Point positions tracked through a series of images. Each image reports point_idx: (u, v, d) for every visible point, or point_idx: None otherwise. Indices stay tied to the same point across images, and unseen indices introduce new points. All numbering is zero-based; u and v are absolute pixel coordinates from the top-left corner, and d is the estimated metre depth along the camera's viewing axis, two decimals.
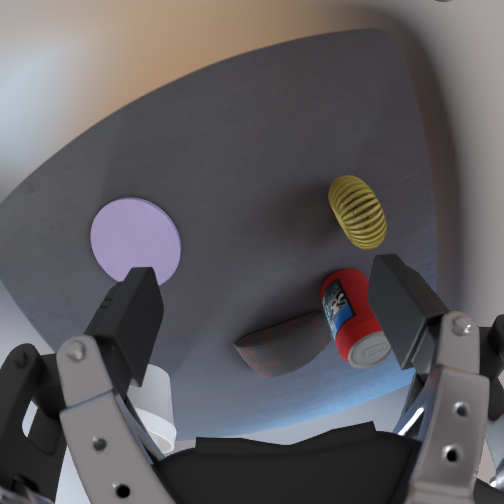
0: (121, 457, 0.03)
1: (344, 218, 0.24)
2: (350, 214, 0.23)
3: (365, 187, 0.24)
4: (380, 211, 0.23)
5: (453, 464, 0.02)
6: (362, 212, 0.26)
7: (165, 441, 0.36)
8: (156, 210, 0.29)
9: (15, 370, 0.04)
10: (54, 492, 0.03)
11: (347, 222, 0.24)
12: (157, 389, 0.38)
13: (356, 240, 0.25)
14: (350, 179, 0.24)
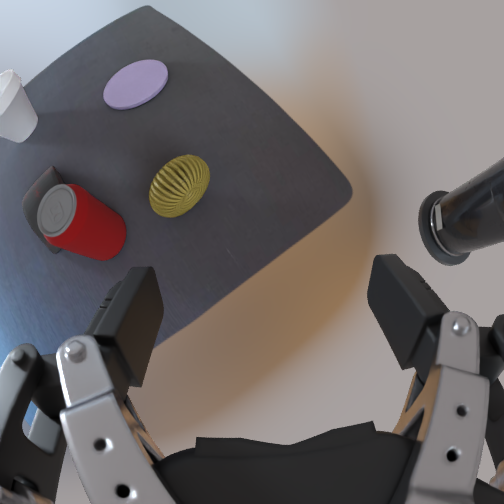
0: (121, 457, 0.03)
1: None
2: (177, 157, 0.28)
3: (202, 170, 0.29)
4: (186, 178, 0.27)
5: (453, 464, 0.02)
6: None
7: None
8: (160, 86, 0.37)
9: (15, 370, 0.04)
10: (54, 492, 0.03)
11: (170, 161, 0.28)
12: (21, 119, 0.32)
13: (156, 174, 0.28)
14: (205, 164, 0.30)
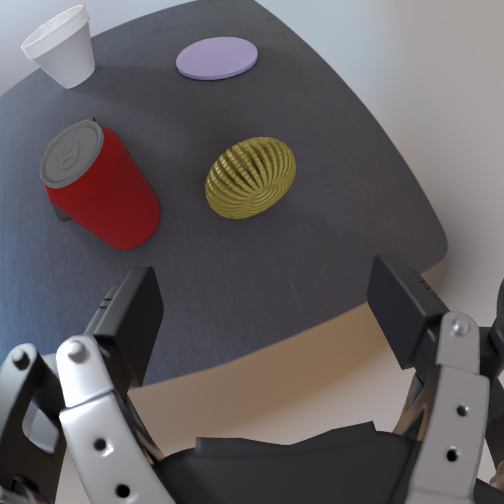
0: (121, 457, 0.03)
1: None
2: (262, 137, 0.20)
3: (291, 165, 0.21)
4: (269, 166, 0.19)
5: (453, 464, 0.02)
6: None
7: None
8: (246, 65, 0.31)
9: (15, 370, 0.04)
10: (54, 492, 0.03)
11: None
12: (75, 61, 0.29)
13: (226, 151, 0.20)
14: None
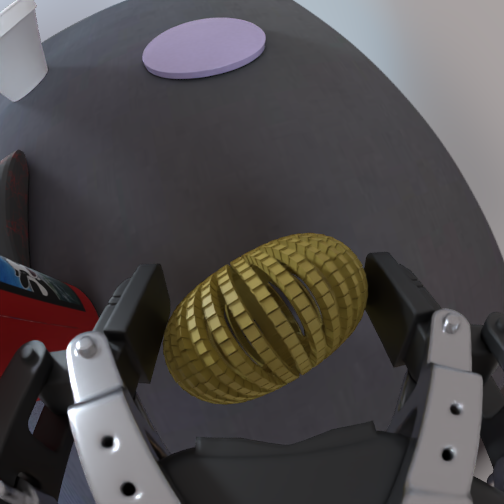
0: (128, 455, 0.03)
1: (274, 241, 0.09)
2: (299, 242, 0.08)
3: None
4: (322, 346, 0.07)
5: (453, 464, 0.02)
6: (270, 332, 0.10)
7: None
8: (248, 55, 0.19)
9: (23, 367, 0.05)
10: (58, 489, 0.03)
11: (266, 245, 0.08)
12: (16, 66, 0.17)
13: (204, 284, 0.08)
14: None
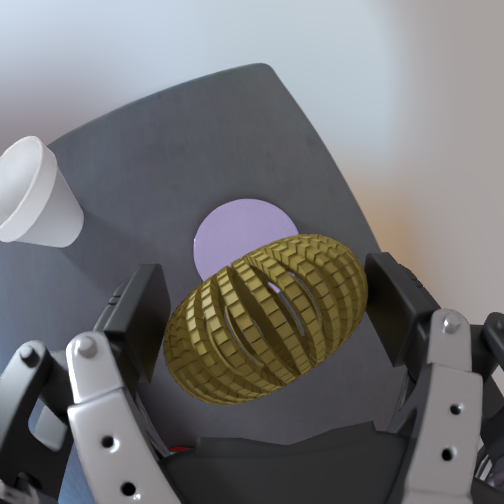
0: (128, 455, 0.03)
1: (274, 242, 0.09)
2: (299, 243, 0.08)
3: None
4: (322, 347, 0.07)
5: (453, 464, 0.02)
6: (270, 333, 0.10)
7: None
8: None
9: (23, 367, 0.05)
10: (58, 489, 0.03)
11: (266, 246, 0.08)
12: (56, 232, 0.27)
13: (204, 285, 0.08)
14: None
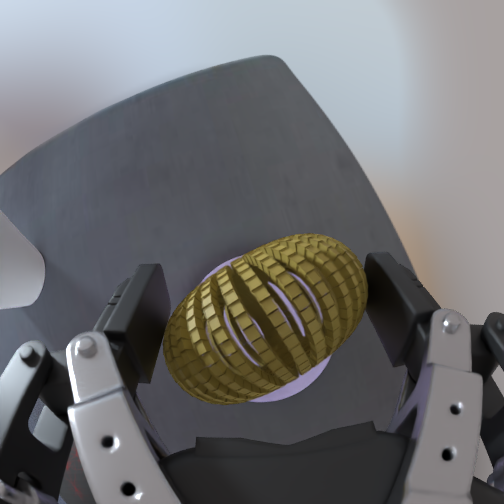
0: (128, 455, 0.03)
1: (274, 241, 0.09)
2: (299, 242, 0.08)
3: None
4: (322, 347, 0.07)
5: (453, 464, 0.02)
6: (270, 332, 0.10)
7: None
8: (318, 373, 0.20)
9: (23, 367, 0.05)
10: (58, 489, 0.03)
11: (266, 245, 0.08)
12: (8, 298, 0.17)
13: (204, 285, 0.08)
14: None
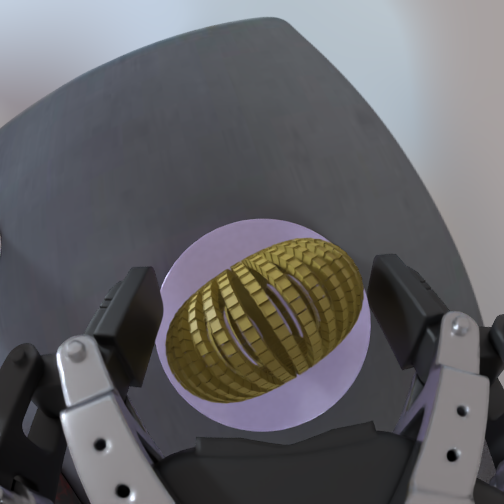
0: (121, 457, 0.03)
1: (273, 246, 0.09)
2: (297, 247, 0.08)
3: None
4: (319, 348, 0.07)
5: (453, 464, 0.02)
6: (269, 333, 0.10)
7: None
8: (344, 389, 0.13)
9: (15, 370, 0.04)
10: (54, 492, 0.03)
11: (265, 250, 0.08)
12: None
13: (205, 288, 0.08)
14: None
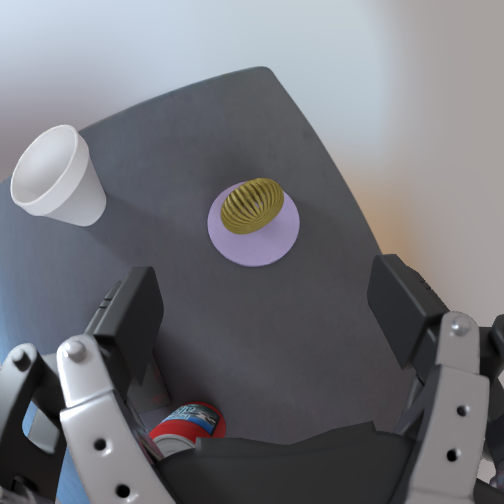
0: (121, 457, 0.03)
1: None
2: (259, 178, 0.30)
3: (280, 197, 0.31)
4: (265, 200, 0.29)
5: (453, 464, 0.02)
6: (253, 209, 0.32)
7: (22, 197, 0.27)
8: (288, 248, 0.35)
9: (15, 370, 0.04)
10: (54, 492, 0.03)
11: (251, 180, 0.30)
12: (84, 209, 0.33)
13: (235, 189, 0.30)
14: (282, 192, 0.32)
